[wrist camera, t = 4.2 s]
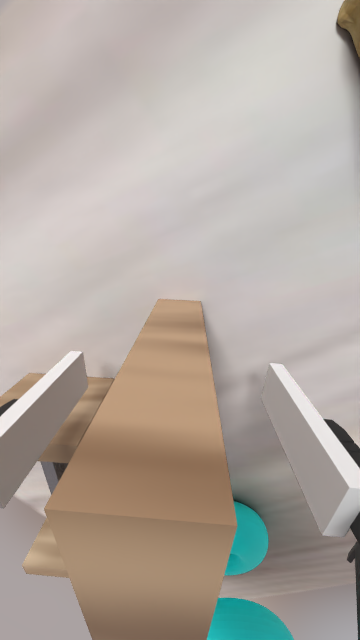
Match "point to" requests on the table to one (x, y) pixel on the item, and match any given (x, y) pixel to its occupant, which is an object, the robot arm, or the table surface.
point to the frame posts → (60, 450)
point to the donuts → (238, 614)
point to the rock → (351, 20)
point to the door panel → (150, 491)
